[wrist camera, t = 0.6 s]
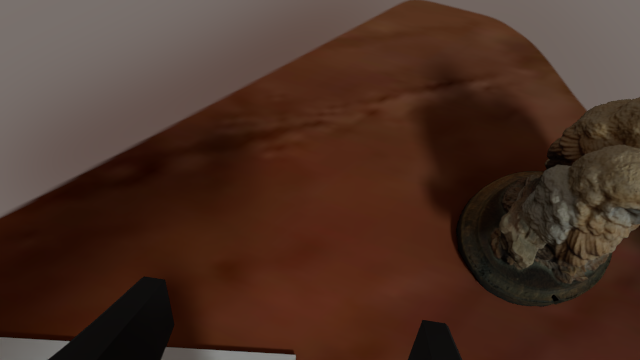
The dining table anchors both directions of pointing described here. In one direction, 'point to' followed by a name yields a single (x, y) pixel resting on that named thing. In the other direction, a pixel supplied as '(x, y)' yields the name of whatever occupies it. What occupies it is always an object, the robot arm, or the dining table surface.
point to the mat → (32, 356)
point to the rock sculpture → (558, 212)
